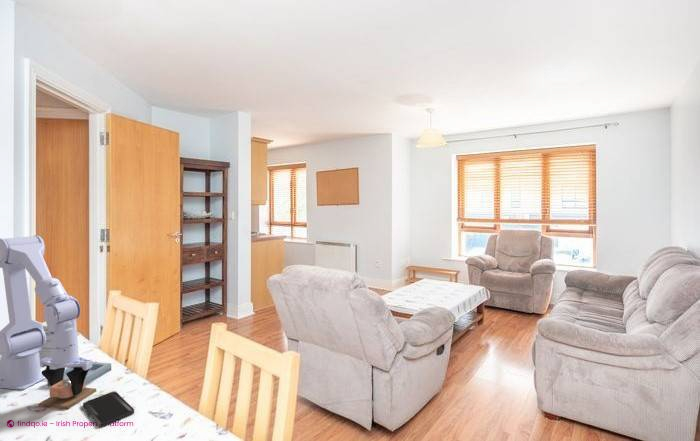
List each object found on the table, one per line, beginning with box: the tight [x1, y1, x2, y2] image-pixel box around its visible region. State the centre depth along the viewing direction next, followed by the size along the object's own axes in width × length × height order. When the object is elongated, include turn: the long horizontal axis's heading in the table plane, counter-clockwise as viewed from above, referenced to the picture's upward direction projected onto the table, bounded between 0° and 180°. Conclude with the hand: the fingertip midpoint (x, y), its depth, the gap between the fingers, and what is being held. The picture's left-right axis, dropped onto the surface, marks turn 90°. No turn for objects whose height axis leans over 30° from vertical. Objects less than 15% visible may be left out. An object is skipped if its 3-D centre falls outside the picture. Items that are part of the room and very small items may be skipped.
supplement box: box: [39, 321, 52, 360], centre depth 128 cm, size 7×7×13 cm
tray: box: [46, 361, 112, 387], centre depth 114 cm, size 11×11×2 cm
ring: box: [48, 377, 86, 398], centre depth 101 cm, size 6×6×2 cm
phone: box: [82, 391, 135, 428], centre depth 97 cm, size 8×1×15 cm
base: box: [37, 387, 97, 410], centre depth 102 cm, size 9×9×1 cm
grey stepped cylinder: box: [58, 378, 78, 400], centre depth 102 cm, size 4×4×5 cm
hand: (68, 392), depth 102 cm, fingers closed on ring, 5 cm apart
